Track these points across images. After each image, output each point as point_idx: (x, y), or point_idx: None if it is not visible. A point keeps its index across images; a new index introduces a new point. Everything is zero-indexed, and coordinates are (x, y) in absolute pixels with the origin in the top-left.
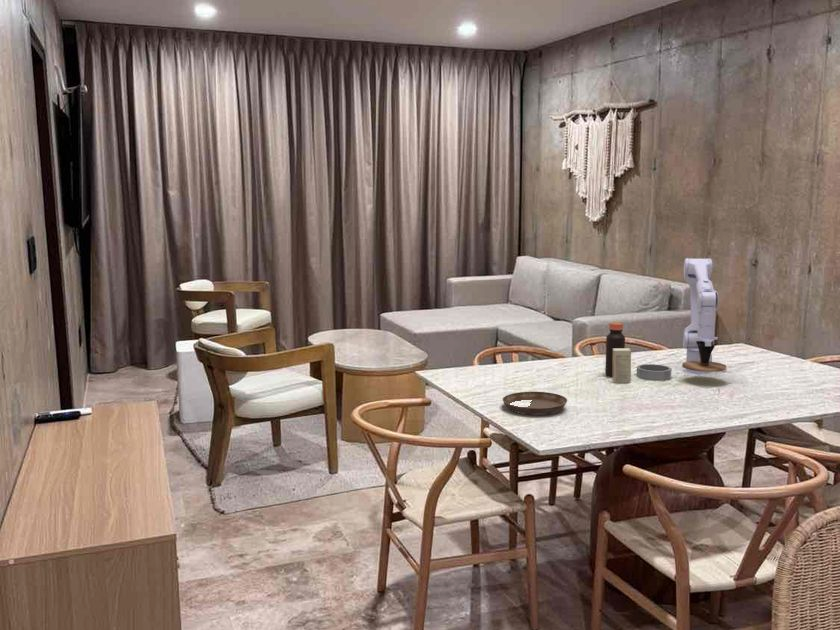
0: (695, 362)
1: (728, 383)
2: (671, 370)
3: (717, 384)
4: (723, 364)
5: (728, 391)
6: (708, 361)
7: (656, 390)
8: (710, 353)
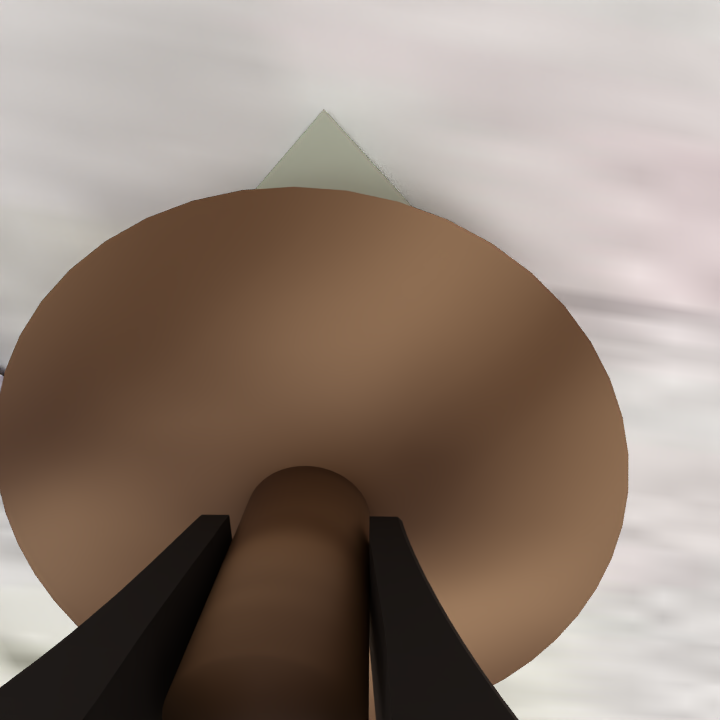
0: None
1: (366, 164)
2: None
3: None
4: (171, 219)
5: (644, 212)
6: (405, 538)
7: (607, 710)
8: (496, 694)
